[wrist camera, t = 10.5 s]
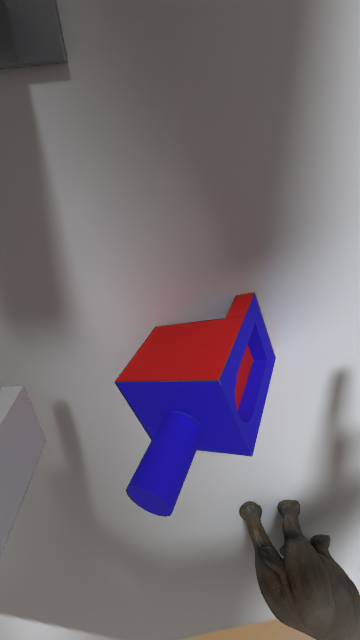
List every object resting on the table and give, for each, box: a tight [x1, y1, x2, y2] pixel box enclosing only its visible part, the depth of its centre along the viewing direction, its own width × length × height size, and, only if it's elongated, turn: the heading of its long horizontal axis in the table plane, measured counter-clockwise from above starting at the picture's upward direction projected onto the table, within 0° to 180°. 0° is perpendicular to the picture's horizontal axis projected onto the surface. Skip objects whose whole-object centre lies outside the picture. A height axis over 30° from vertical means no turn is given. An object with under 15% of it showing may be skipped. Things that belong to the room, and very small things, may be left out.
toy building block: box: [115, 292, 275, 516], centre depth 12 cm, size 4×4×8 cm
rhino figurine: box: [240, 500, 360, 640], centre depth 20 cm, size 4×14×6 cm, turn 37°
